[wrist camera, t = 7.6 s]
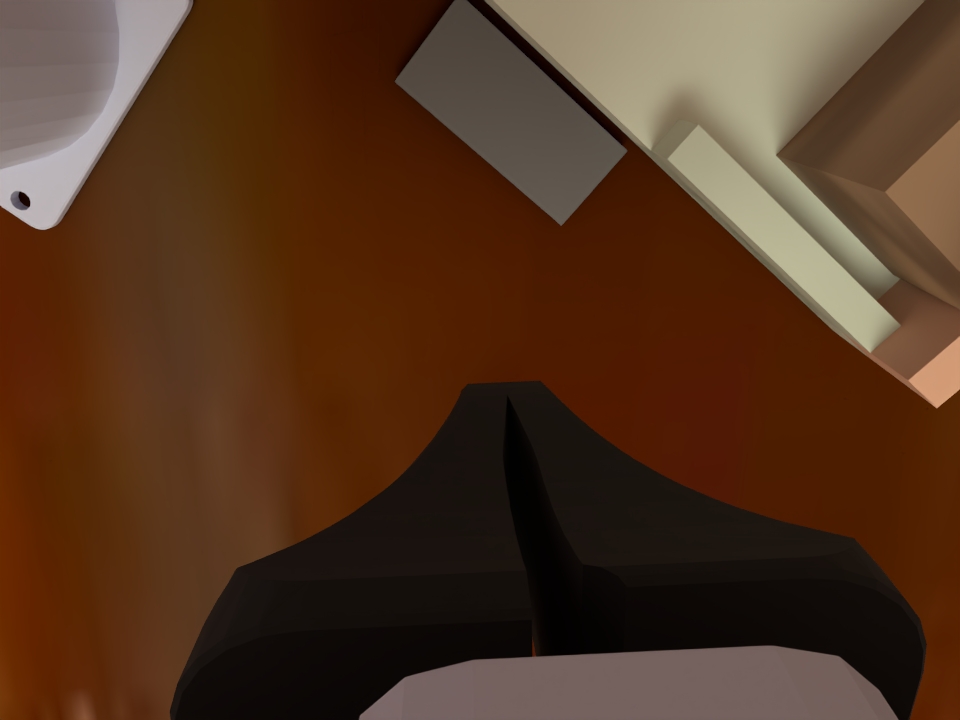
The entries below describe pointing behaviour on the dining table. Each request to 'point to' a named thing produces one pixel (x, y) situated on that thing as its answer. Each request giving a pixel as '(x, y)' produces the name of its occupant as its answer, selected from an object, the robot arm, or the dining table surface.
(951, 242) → the walnut block
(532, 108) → the mats
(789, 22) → the trap lane
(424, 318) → the dining table surface
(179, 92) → the dining table surface
